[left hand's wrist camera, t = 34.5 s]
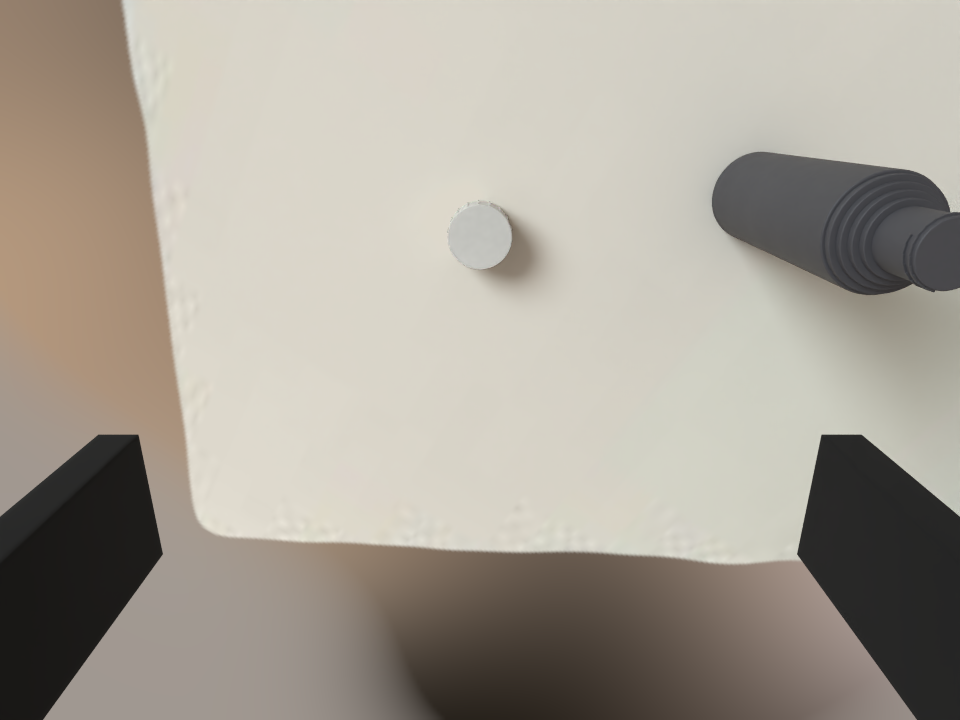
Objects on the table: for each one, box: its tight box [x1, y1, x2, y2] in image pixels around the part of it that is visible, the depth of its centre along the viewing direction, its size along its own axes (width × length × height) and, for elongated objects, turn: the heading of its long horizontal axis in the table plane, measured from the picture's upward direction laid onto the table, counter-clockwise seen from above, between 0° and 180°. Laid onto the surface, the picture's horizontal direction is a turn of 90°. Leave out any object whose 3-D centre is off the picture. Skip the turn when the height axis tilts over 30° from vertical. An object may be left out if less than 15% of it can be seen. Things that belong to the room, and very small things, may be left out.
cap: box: [447, 200, 513, 269], centre depth 41 cm, size 4×4×2 cm
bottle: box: [712, 152, 960, 295], centre depth 33 cm, size 5×5×19 cm
